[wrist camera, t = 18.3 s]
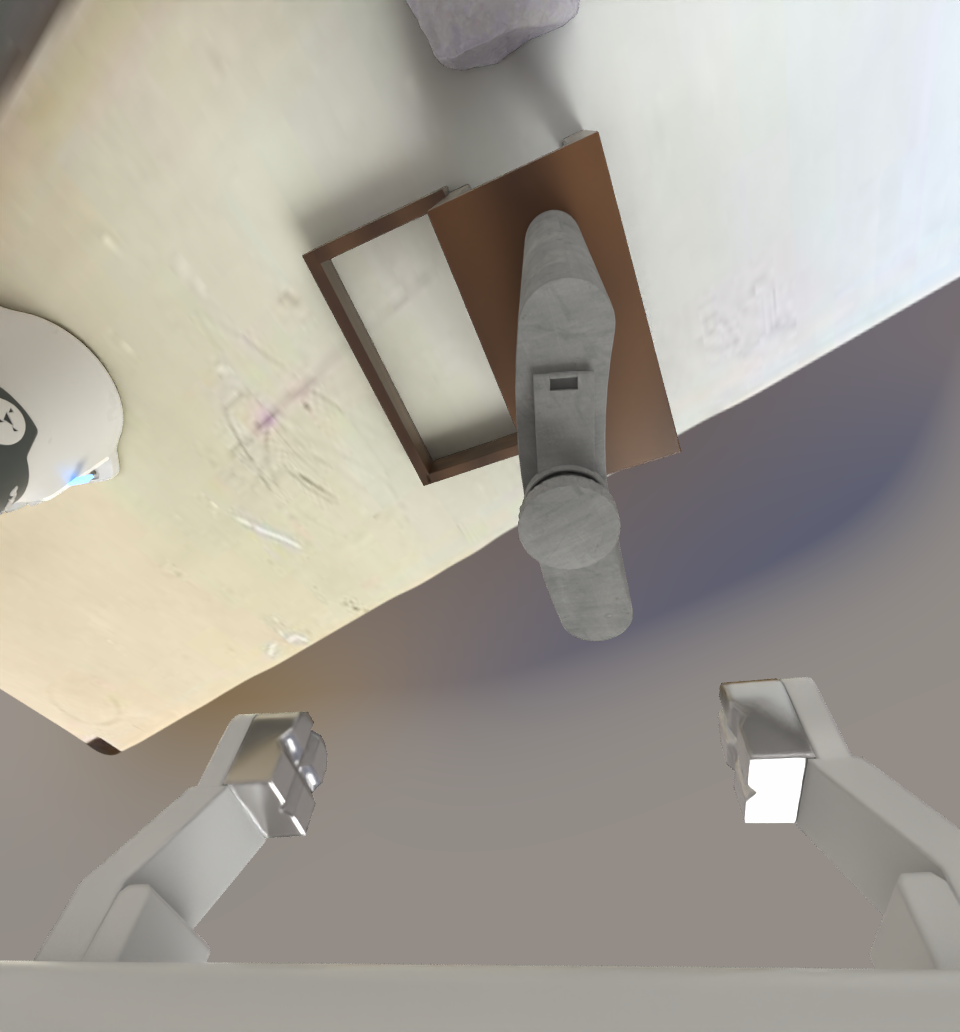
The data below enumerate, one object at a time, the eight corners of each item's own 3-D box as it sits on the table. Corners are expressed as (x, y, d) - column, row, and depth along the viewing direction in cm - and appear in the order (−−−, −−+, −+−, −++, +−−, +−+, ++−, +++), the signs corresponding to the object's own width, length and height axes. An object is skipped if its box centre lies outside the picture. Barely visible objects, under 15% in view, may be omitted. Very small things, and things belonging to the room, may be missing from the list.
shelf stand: (427, 472, 56) (406, 542, 47) (312, 249, 46) (255, 281, 36) (655, 396, 50) (683, 458, 41) (580, 121, 40) (595, 120, 31)
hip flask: (599, 457, 41) (642, 682, 25) (541, 464, 42) (545, 688, 25) (577, 204, 33) (622, 287, 16) (505, 218, 33) (477, 311, 17)
